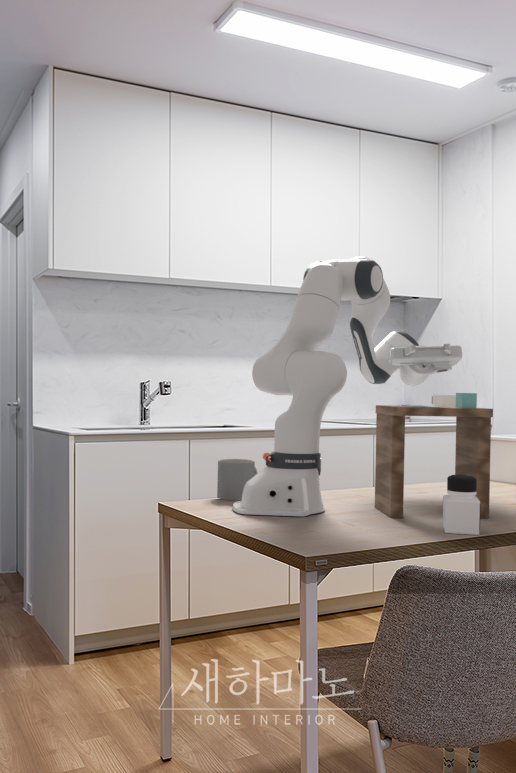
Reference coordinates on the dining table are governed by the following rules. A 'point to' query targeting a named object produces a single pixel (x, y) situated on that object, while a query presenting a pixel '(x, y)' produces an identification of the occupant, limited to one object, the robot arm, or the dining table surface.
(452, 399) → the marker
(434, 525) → the dining table surface
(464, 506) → the medicine bottle
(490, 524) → the dining table surface
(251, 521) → the dining table surface
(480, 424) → the shelf
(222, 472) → the coffee mug
